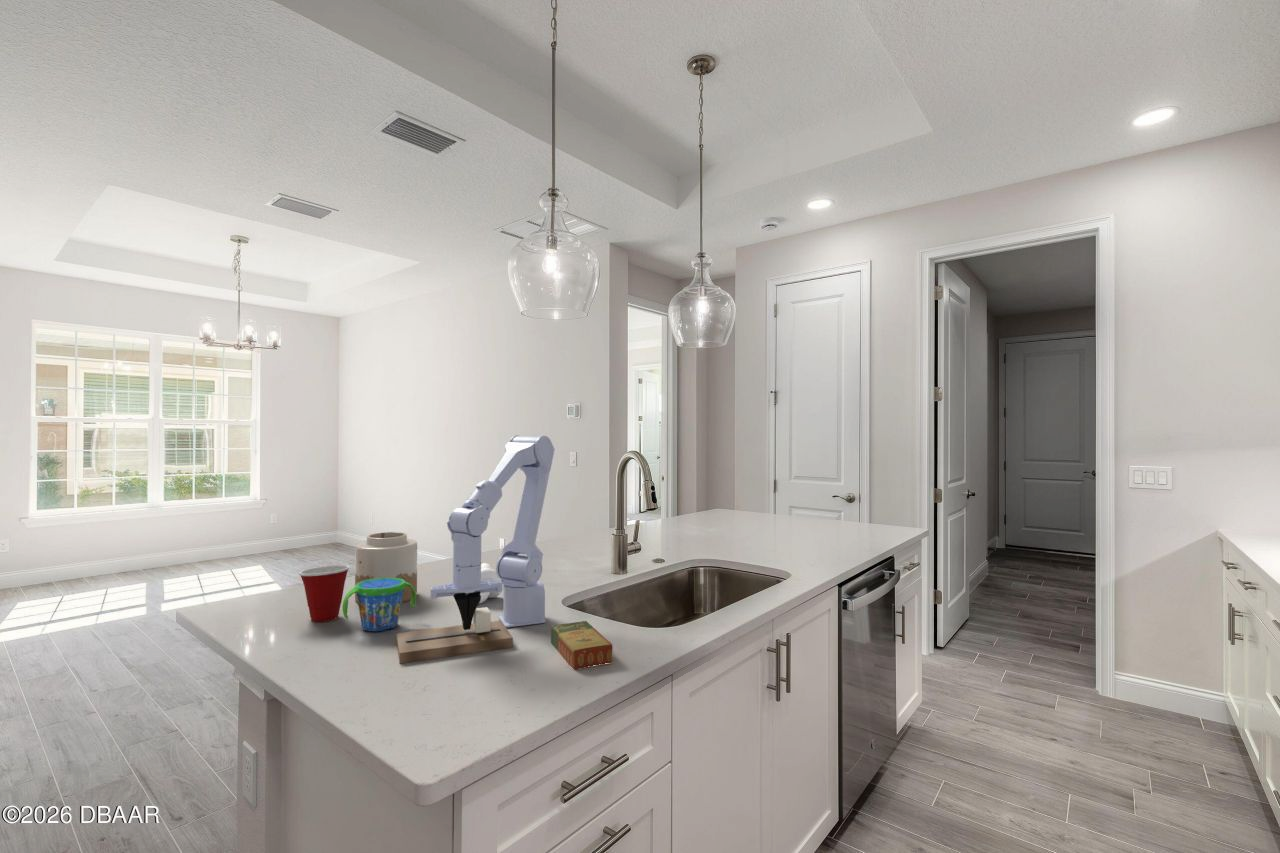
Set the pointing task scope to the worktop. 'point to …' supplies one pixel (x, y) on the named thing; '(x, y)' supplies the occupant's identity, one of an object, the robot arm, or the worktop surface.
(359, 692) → the worktop surface
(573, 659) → the carton
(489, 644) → the fader console
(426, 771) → the worktop surface
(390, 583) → the snack cup
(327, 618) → the plastic cup
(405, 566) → the vase
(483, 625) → the fader tab
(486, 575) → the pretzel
